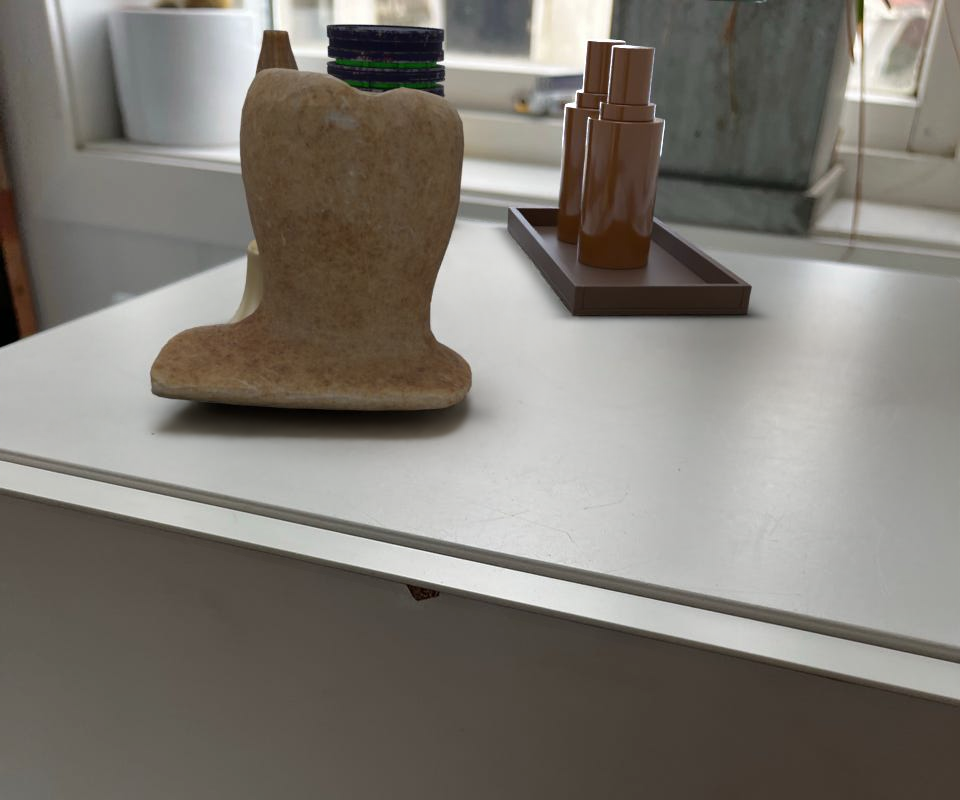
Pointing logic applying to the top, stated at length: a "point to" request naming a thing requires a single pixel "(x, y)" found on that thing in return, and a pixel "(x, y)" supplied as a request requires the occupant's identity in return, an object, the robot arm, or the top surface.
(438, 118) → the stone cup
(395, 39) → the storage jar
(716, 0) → the green bottle
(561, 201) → the amber bottle
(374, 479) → the top surface
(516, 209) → the tray
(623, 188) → the amber bottle
